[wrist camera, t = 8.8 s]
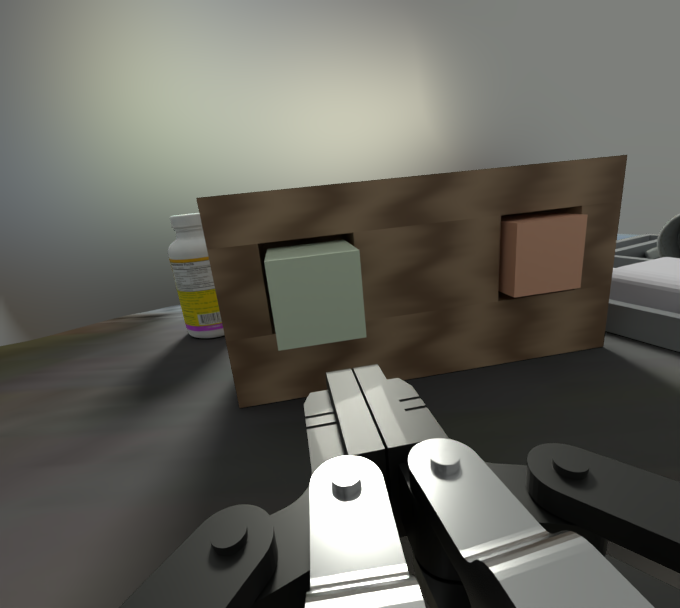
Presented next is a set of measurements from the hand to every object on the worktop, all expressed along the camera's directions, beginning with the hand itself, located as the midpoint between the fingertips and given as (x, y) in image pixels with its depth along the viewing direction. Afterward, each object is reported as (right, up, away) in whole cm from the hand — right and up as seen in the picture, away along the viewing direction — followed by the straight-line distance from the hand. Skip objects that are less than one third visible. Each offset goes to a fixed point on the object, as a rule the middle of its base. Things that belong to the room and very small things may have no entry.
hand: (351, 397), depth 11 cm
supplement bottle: (-14, 0, +31) cm, 34 cm away
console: (+6, -1, +20) cm, 21 cm away
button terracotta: (+14, +4, +17) cm, 22 cm away
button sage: (-2, +1, +12) cm, 13 cm away
